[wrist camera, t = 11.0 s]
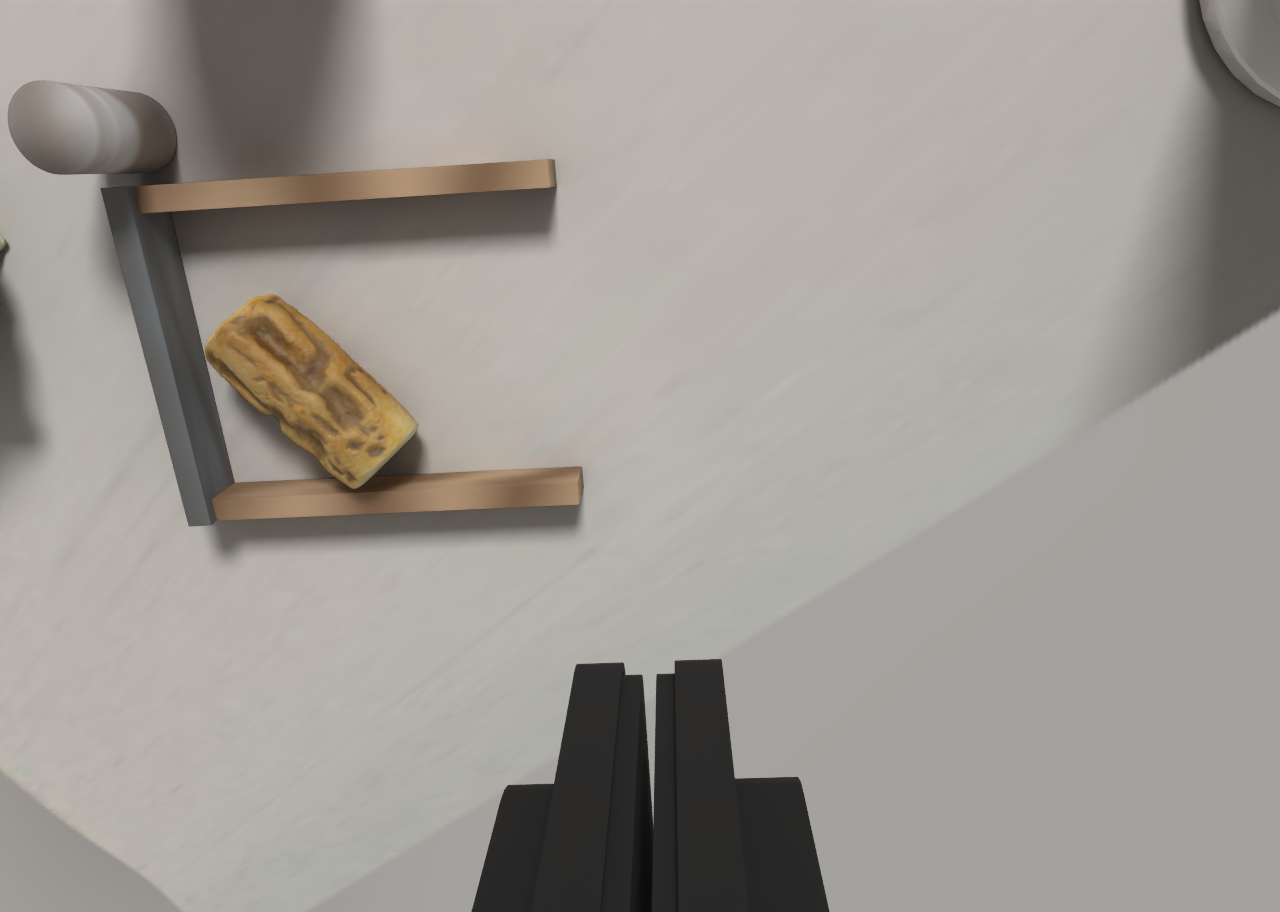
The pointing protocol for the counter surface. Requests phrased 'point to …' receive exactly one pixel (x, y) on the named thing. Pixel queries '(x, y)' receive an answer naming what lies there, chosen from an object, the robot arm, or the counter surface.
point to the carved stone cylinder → (310, 388)
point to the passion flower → (0, 245)
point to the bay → (156, 284)
